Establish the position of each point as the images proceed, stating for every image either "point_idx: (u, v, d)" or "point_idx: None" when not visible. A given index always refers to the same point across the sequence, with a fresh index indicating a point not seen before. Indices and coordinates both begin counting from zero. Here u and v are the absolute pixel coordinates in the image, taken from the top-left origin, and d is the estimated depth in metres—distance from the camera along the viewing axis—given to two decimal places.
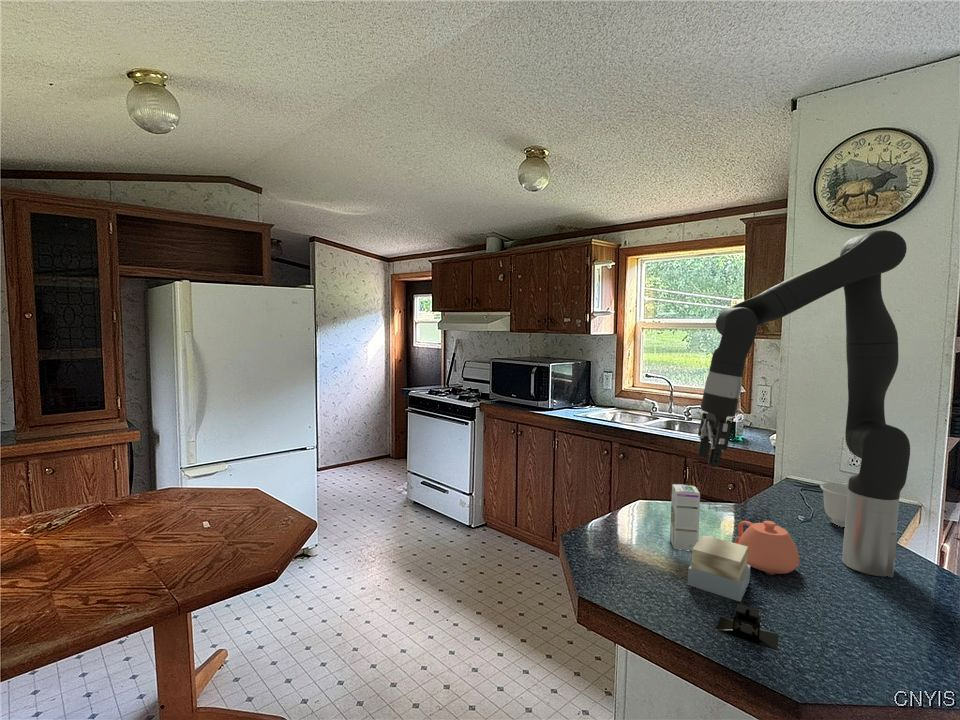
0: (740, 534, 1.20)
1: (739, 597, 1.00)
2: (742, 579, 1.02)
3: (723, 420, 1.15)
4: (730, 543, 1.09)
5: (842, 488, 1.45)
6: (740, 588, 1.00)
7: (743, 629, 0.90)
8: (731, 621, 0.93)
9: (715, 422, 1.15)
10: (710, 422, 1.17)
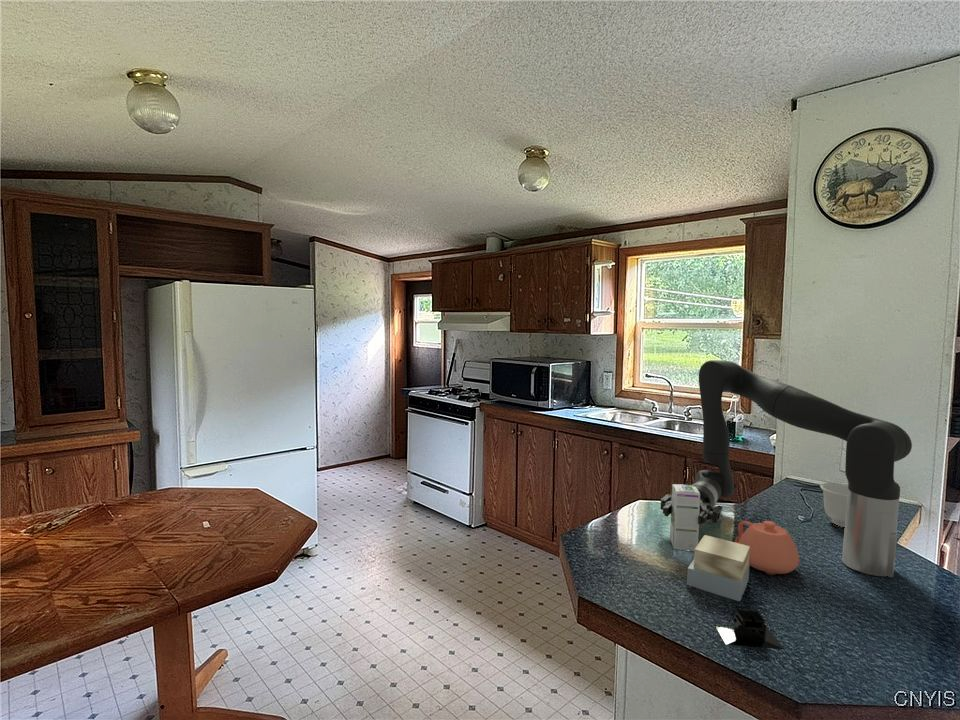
0: (740, 534, 1.20)
1: (738, 597, 1.00)
2: None
3: None
4: (732, 543, 1.09)
5: (842, 488, 1.45)
6: (739, 588, 1.00)
7: (747, 635, 0.88)
8: (729, 629, 0.90)
9: None
10: None
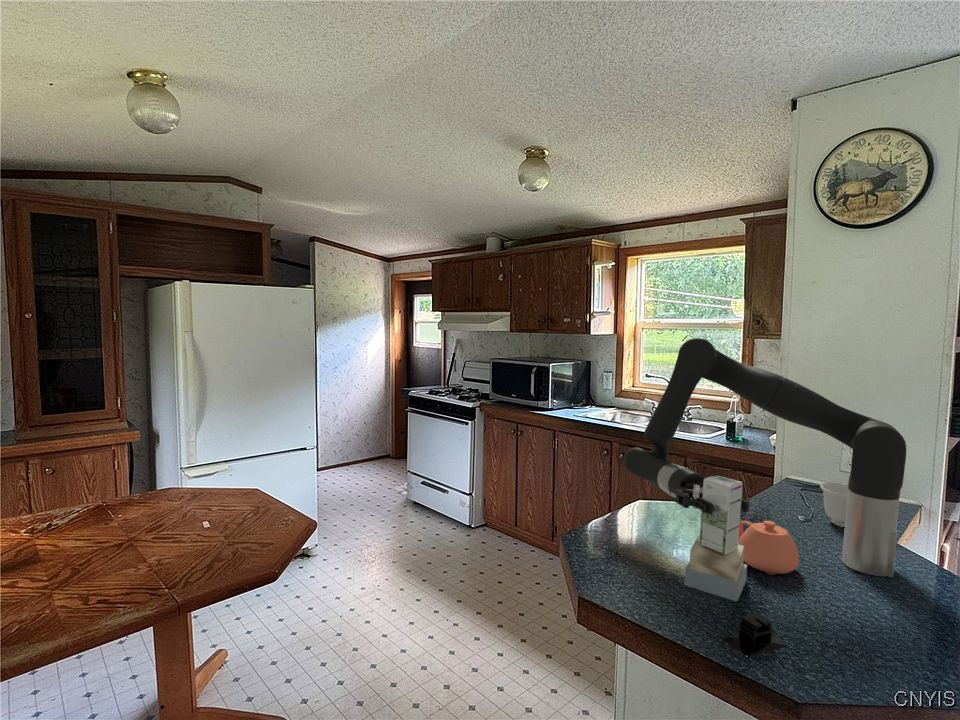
0: (740, 534, 1.20)
1: (736, 597, 1.00)
2: (739, 579, 1.02)
3: (681, 490, 1.13)
4: None
5: (842, 488, 1.45)
6: (736, 588, 1.00)
7: (755, 640, 0.87)
8: (736, 638, 0.88)
9: None
10: None
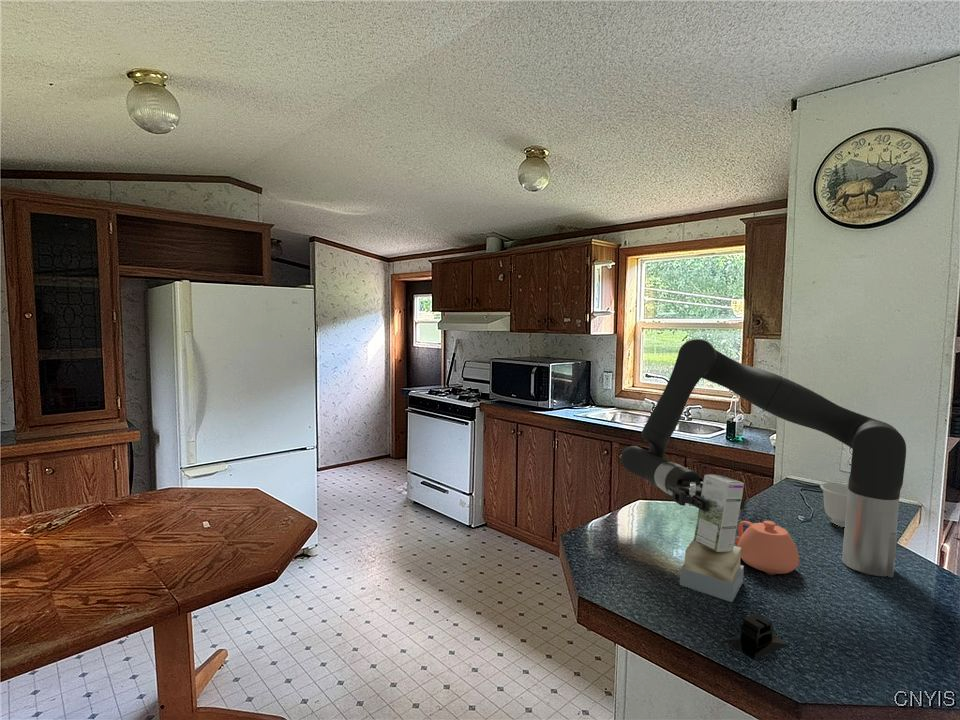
0: (740, 534, 1.20)
1: (731, 597, 1.00)
2: (734, 579, 1.01)
3: None
4: None
5: (842, 488, 1.45)
6: (731, 588, 1.00)
7: None
8: (738, 640, 0.87)
9: None
10: None
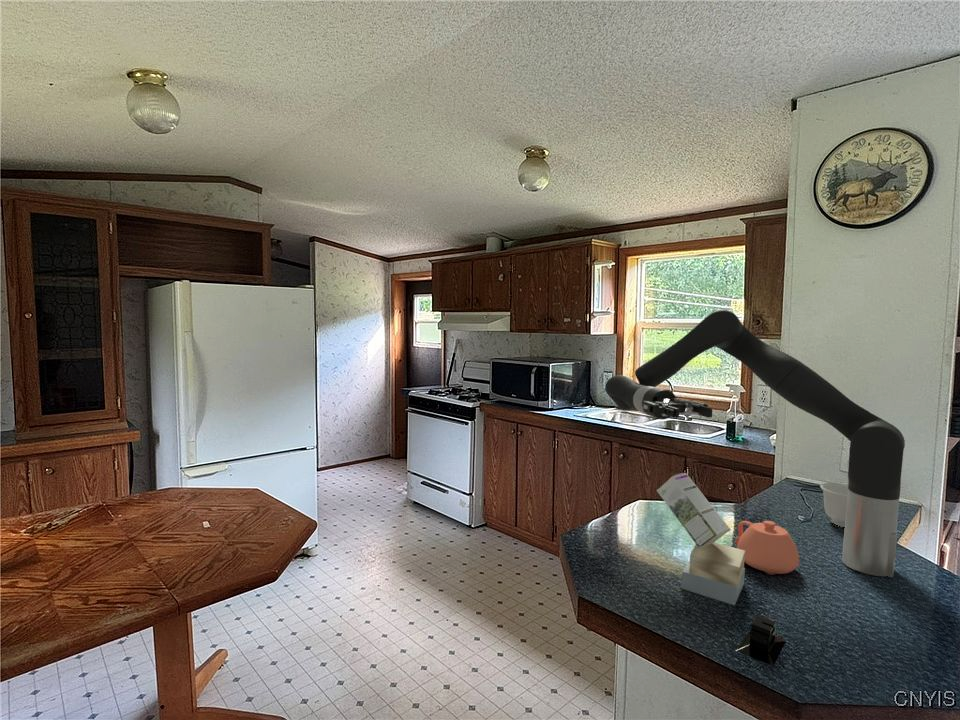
0: (740, 534, 1.20)
1: (733, 601, 0.99)
2: None
3: None
4: (727, 547, 1.07)
5: (842, 488, 1.45)
6: (734, 592, 0.99)
7: None
8: (748, 646, 0.85)
9: None
10: None
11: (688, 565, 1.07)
